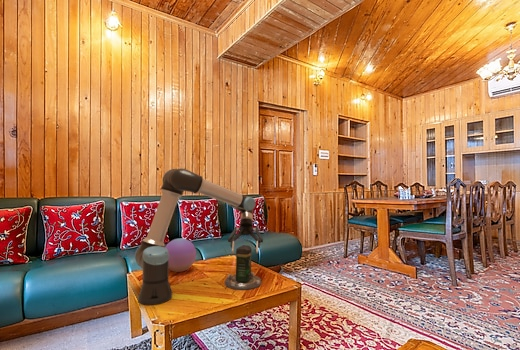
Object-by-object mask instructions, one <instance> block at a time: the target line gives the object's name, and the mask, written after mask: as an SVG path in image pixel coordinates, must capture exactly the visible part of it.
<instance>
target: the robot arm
mask: <svg viewBox="0 0 520 350" xmlns="http://www.w3.org/2000/svg"><path fill="white" fill-rule="evenodd" d="M160 188H161V189H160V191H161V192H162V194H161V197H160V200H159V203H158V205H157V208H156V211H155V214H154V216H153V219H152V222H151V225H150V228H149V230H148V233H147V236H146V237H145V238H143V239H142V240H141V244H140V245H139V247H137V248H136V250H135V253H134V258H135V262H136V264H137V265H138V266H139V267H140V268H141V269H142V285H141V287H140V291H139V293H138V299H137V300H138V303H140V304H142V305H146V306H152V305H153V306H154V305H160V304H163V303H165V302H168V301H169V300H171V299H172V298H173V290H172V287H171V284H170V282H169V275H170V274H169V270H170V269H169V252H168V249H167V248H165V247H166V244H165V242H164V240H165V238H166V234H167V232H168V228H169V226H170V224H171V220H172V217H173V215H174V212H175V209H176V206H177V204H178V201H179V198H182V197H183V195H184V192H189V193H193V194H195V195H196V194H201V195H204V196H206V197H209V198H212V199H214V200H217V201H221V202H223V203H226V204H227V205H228V206H229V207H231V208H233V209H235V210H237V211H238V212H240V222H239V223H240V224H239V227H237V226H234V228H233V230H232V231H231V234H230V235H229V236H228V237H227V242H228V243H230V248H231V254H235V253H234V251H235V241H237V240H238V239H239V238H241V237H242V236H250V237H252V238H253V239H254V240H255V242H256V251H255V252H256V254H259V248H261V243H263V242H264V238H263V236H262V235H261V233H260V231H259V229H258V226H255V227H253V223H254V222H253V218H254V208H255V207H256V200H255V199H254V197H252V196H246V195H245V194H241V193H238V192H236V191H234V190H232V189H229V188H226V187H224V186H221V185H219V184H217V183H214V182H212V181H210V180H208V179H207V180H206V179H205V178H203V176H202V175H199V174H197V173H195V172H193V171H191V170H189V169H186V168H171V169H169V170H167V171H166V172H164V174H163V176H162V186H161V187H160ZM253 231H254V232H255V233H254V232H253Z"/></svg>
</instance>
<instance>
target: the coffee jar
mask: <svg viewBox="0 0 520 350" xmlns="http://www.w3.org/2000/svg"><path fill="white" fill-rule="evenodd" d="M235 258H236V259H235V261H236V262H235V275H236V281H238V282H241V283H243V282H248V281H249V280H250V279H251V272H252V247H251V246H250V245H246V244H245V245H244V244H243V245H240V246H239V247H238V248H236V250H235Z"/></svg>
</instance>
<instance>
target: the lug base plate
mask: <svg viewBox="0 0 520 350" xmlns="http://www.w3.org/2000/svg"><path fill="white" fill-rule="evenodd" d="M232 274H233V273H229V274H227V277H226V278H225V280H224V286H225V287H226V288H229V289H231V290H236V291H248V290H255V289H257V288H259V287H260V286H261V285H262V279H261V278H260V277H259V276H257V275H255V272H252V271H251V279H250V280H249V281H248V282H243V283H241V282H238V281H236V274H233V275H232Z"/></svg>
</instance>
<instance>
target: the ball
mask: <svg viewBox="0 0 520 350" xmlns="http://www.w3.org/2000/svg"><path fill="white" fill-rule="evenodd" d="M165 248H167V249H168V252H169V270H170V271H172V272H175V273H180V272H184V271H186V270H188V269H190V267H192V266H193V264H194V263H195V261H196V258H197V250H196V247H195V245H194V243H192V241H190V240H188V239H187V238H183V237H181V238H178V237H177V238H174V239H172V240H171V241H169V242H168V243H167V244H165Z"/></svg>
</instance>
